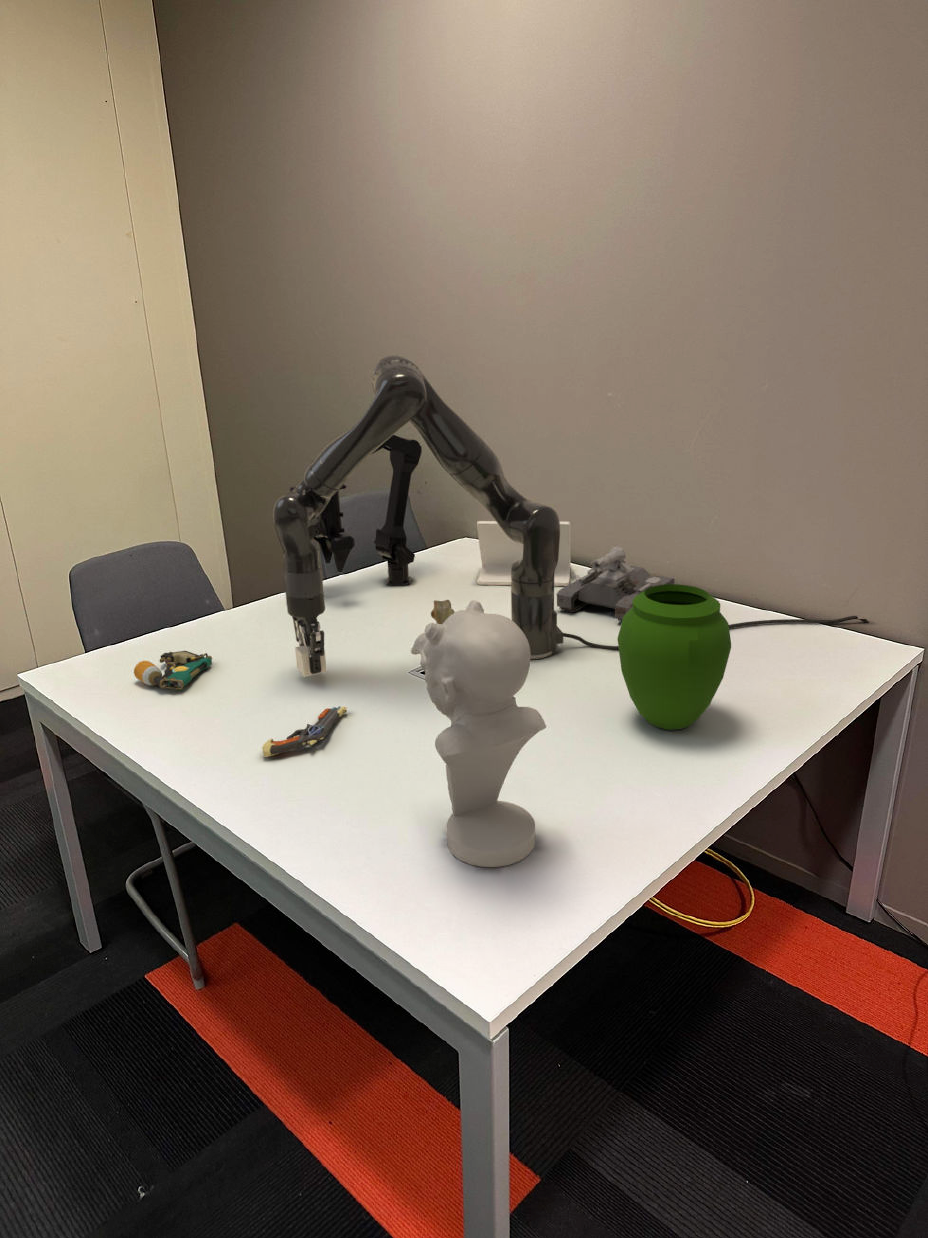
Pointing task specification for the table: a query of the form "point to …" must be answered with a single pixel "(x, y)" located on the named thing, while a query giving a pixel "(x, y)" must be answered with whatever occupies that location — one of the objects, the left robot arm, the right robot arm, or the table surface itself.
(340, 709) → the toy gun
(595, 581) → the toy
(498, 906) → the table surface
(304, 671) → the beige wooden cube
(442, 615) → the sculpture
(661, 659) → the vase
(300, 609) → the right robot arm
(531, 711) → the bust sculpture
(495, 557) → the tablet stand
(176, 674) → the spray gun
